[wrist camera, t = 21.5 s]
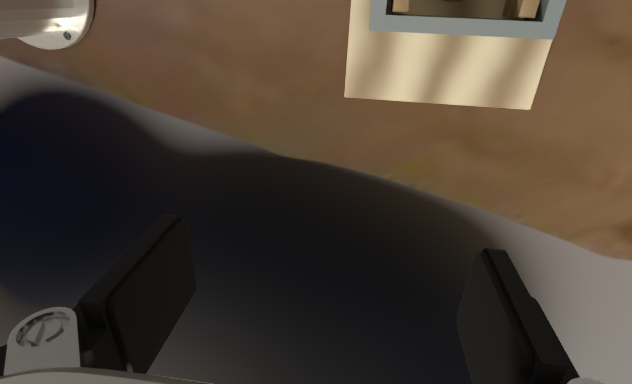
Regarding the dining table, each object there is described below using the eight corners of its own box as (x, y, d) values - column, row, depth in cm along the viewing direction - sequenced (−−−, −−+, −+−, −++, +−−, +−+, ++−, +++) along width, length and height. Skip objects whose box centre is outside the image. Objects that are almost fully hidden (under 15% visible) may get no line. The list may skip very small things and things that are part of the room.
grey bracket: (368, 27, 33) (368, 30, 30) (374, -26, 31) (374, -30, 28) (533, 35, 32) (553, 39, 28) (549, -20, 30) (573, -23, 26)
